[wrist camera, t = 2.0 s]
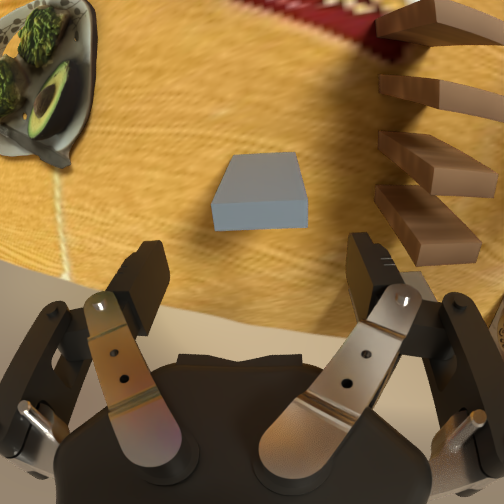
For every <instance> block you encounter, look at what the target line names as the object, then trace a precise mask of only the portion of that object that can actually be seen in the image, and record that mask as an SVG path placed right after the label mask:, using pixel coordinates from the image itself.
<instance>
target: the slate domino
mask: <svg viewBox="0 0 504 504" xmlns="http://www.w3.org/2000/svg"><path fill="white" fill-rule="evenodd" d="M211 208H212V215H213V222H214V228H215V231H231V230H255V229H281V228H308V198H307V194H306V191H305V187H304V183H303V179H302V175H301V172H300V168H299V164H298V161H297V157H296V154H295V152H282V153H260V154H244V155H233V157H232V159H231V161H230V163H229V166H228V168H227V170H226V172H225V174H224V176H223V179H222V181H221V183H220V185H219V187H218V190H217V192H216V194H215V196H214V198H213V201H212V203H211Z"/></svg>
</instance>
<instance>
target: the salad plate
mask: <svg viewBox="0 0 504 504" xmlns="http://www.w3.org/2000/svg"><path fill="white" fill-rule="evenodd" d="M23 26H24V27H23ZM22 27H23V29H21V28H22ZM20 29H21V30H20ZM19 30H20V31H19ZM18 31H19V33H18V36H19V38H21V42H20V44H19V46H18V52H19V53H18V55H17V57H15V58H12V57H9V56H8V55H7V54H4V55H3V56H2V54H3V52H4V50H5V48H6V46H7V44H8V43H9V41H10V40H11V39H12V37H13V36H14V35H15V34H16V33H17V32H18ZM75 40H76V41H75ZM97 43H98V36H97V22H96V13H95V9H94V8H93V6H92V5H91V4H90V3H89V2H88V1H87V0H35V1H33V2H31V3H28V4H26V5H25V6H22V7H20V8H17V9H16V10H14V11H12V12H11V13H9V14H7V15H6V16H4V17H2V18H1V19H0V154H1V155H3V156H21V155H31V154H34V155H38V156H39V157H40V159H41V160H43V161H44V162H46V163H48V164H50V165H53V166H55V167H58V168H61V169H63V168H65V167H66V166H69V165H71V162H70V159H69V152H70V149H71V147H72V145H73V144H74V142H75V141H76V139H77V138H78V137H79V135H80V133H81V132H82V130H83V128H84V127H85V125H86V122H87V120H88V117H89V114H90V110H91V107H92V103H93V96H94V87H95V80H96V59H97ZM23 113H26V115H27V119H26V120H24V119H23Z"/></svg>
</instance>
